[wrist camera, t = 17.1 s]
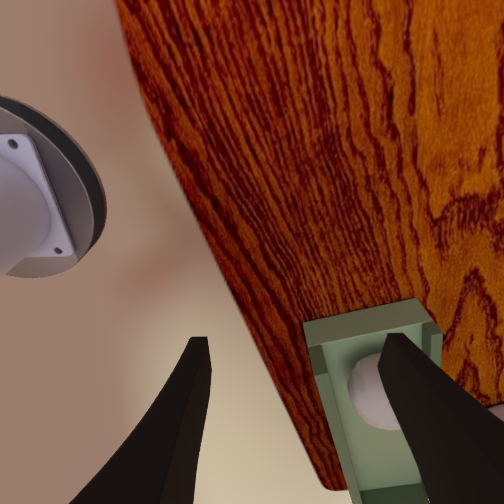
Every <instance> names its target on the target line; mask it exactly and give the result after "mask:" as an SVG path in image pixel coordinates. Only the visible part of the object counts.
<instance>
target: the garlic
mask: <svg viewBox="0 0 504 504" xmlns="http://www.w3.org/2000/svg"><path fill="white" fill-rule="evenodd" d="M380 355H381V352H380V353H376V354H371V355H369V356H366V357H364V358H362V359H361V360H360V361H358V362H357V363H356V366H355V367H354V368H353V369H352V371H351V374H350V378H349V380H348V383H347V388H348V393H349V397H350V399H351V401H352V403H353V405H354V408H355V410H356V412H357V413H358V415H359V416H360V417H361V418H362V419H363V420H364V421H365V422H366V423H367V424H369V425H371V426H374V427H377V428H379V429H385V430H397V429H401V428H400V425H399V423H398V421H397V419H396V416H395V414H394V412H393V410H392V407H391V405H390V403H389V400H388V398H387V396H386V393H385V391H384V388H383V385H382V382H381V378H380V375H379V371H378V368H377V365H378V362H379V359H380Z"/></svg>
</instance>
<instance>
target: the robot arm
mask: <svg viewBox="0 0 504 504" xmlns="http://www.w3.org/2000/svg"><path fill="white" fill-rule="evenodd" d="M12 140H14V141H16V142H17V144H18V147H16V146H15V145H14V144H13V141H12ZM58 248H60V249H61V250H62V251H60V250H59V249H58ZM75 251H76V250H75V246H74V243H73V241H72V238H71V236H70V233H69V230H68V228H67V225H66V223H65V220H64V218H63V215H62V212H61V210H60V207H59V205H58V202H57V199H56V197H55V194H54V192H53V189H52V187H51V184H50V181H49V179H48V176H47V174H46V171H45V168H44V166H43V163H42V161H41V158H40V156H39V153H38V150H37V148H36V145H35V143H34V141H33V139H32V138H31V137H30V136H28V135H26V134H22V133H20V134H0V278H1V277H2V276H3V275H5V274H6V273H7V272H8V271H9V270H11V269H12V268H13V267H14V266H16V265H17V264H18V263H19V262H20V261H22V260H23V259H24V258H25V257H65V256H71V255H73V254H74V253H75ZM377 368H378V371H379V375H380V378H381V382H382V385H383V388H384V391H385V393H386V396H387V398H388V400H389V403H390V405H391V407H392V410H393V412H394V414H395V416H396V419H397V421H398V423H399V425H400V428H401V430H402V432H403V434H404V436H405V439H406V441H407V443H408V445H409V448H410V450H411V452H412V455H413V457H414V459H415V462H416V464H417V467H418V470H419V473H420V476H421V478H422V481H423V484H424V487H425V490H426V493H427V496H428V499H429V502H430V504H504V422H503V421H502V420H501V419H500V418H498V417H497V416H496V415H494V414H493V413H492V412H491V411H489V410H488V409H487V408H486V407H484V406H483V405H482V404H481V403H480V402H478V401H477V400H476V399H475V398H474V397H472V396H471V395H470V394H469V393H468V392H466V391H465V390H464V389H463V388H462V387H461V386H460V385H458V384H457V383H456V382H455V381H454V380H453V379H452V378H451V377H449V376H448V375H447V374H446V373H445V372H444V371H443V370H442V369H441V368H440V367H439V366H438V365H436V364H435V363H434V362H433V361H432V360H431V359H430V358H429V357H428V356H427V355H426V354H425V353H424V352H423V351H422V350H421V349H420V348H419V347H418V346H417V345H415V344H414V343H413V342H412V341H411V340H410V339H409V338H408V337H407V336H406V335H405V334H404V333H387V337H386V340H385V343H384V346H383V349H382V352H381V355H380V359H379V362H378V365H377ZM211 372H212V368H211V361H210V354H209V346H208V339H207V337H191V338H190V339H189V341H188V343H187V346H186V348H185V350H184V352H183V354H182V355H181V357H180V359H179V361H178V363H177V365H176V366H175V368H174V370H173V372H172V373H171V375H170V377H169V378H168V380H167V382H166V384H165V385H164V387H163V388H162V390H161V391H160V393H159V395H158V396H157V397H156V399H155V401H154V402H153V404H152V405H151V407H150V408H149V409H148V411H147V412H146V414H145V415H144V416H143V418H142V419H141V421H140V422H139V423H138V425H137V426H136V427H135V429H134V430H133V431H132V432H131V434H130V435H129V436H128V438H127V439H126V440H125V441H124V442H123V444H122V445H121V446H120V448H119V449H118V450H117V451H116V452H115V453H114V455H113V456H112V457H111V458H110V459H109V461H108V462H107V463H106V464H105V465H104V467H102V469H101V470H100V471H99V472H98V473H97V474H96V475H95V476H94V477H93V478H92V480H91V481H90V482H89V483H88V484H87V485H86V486H85V487H84V488H83V489H82V490H81V491H80V493H79V494H78V495H77V496H76V497H75V498H74V499H73V500H72V501H71V502H70V503H69V504H193V501H194V491H195V481H196V471H197V464H198V457H199V452H200V446H201V441H202V435H203V430H204V424H205V419H206V414H207V408H208V402H209V396H210V385H211Z"/></svg>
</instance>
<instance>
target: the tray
mask: <svg viewBox="0 0 504 504" xmlns="http://www.w3.org/2000/svg"><path fill="white" fill-rule="evenodd" d="M303 327H304V332H305V336H306V341H307V346H308V350H309V355H310V360H311V364H312V369H313V374H314V378H315V381H316V384H317V387H318V391H319V394H320V397H321V401H322V404H323V407H324V411H325V414H326V417H327V420H328V424H329V427H330V430H331V434H332V437H333V440H334V444H335V447H336V450H337V453H338V457H339V460H340V463H341V467H342V470H343V473H344V477H345V480H346V483H347V486H348V490H349V493H350V496H351V500H352V503H353V504H430V503H429V500H428V496H427V493H426V490H425V487H424V484H423V481H422V478H421V476H420V473H419V470H418V467H417V464H416V462H415V459H414V457H413V455H412V452H411V450H410V448H409V445H408V443H407V441H406V439H405V436H404V434H403V432H402V430H401V429H397V430H385V429H379V428H377V427H374V426H371V425H369V424H367V423H366V422H365V421H364V420H363V419H362V418H361V417H360V416H359V415H358V413H357V412H356V410H355V408H354V405H353V403H352V401H351V399H350V397H349V393H348V388H347V383H348V380H349V378H350V374H351V371H352V369H353V368H354V367H355V366H356V363H357V362H358V361H360V360H361V359H362V358H364V357H366V356H369V355H371V354H376V353H380V352H382V349H383V346H384V343H385V340H386V337H387V333H404V334H405V335H406V336H407V337H408V338H409V339H410V340H411V341H412V342H413V343H414V344H415V345H417V346H418V347H419V348H420V349H421V350H422V351H423V352H424V353H425V354H426V355H427V356H428V357H429V358H430V359H431V360H432V361H433V362H434V363H435V364H436V365H438V366H439V367H440V368H441V356H442V339H443V333H442V332H441V330H440V329H439V328H438V326H437V325H436V324H435V322H434V321H433V320H432V318H431V317H430V316H429V314H428V313H427V312H426V310H425V309H424V308H423V306H422V305H421V304H420V302H419V301H418V299H417V298H412V299H408V300H403V301H399V302H394V303H390V304H385V305H381V306H376V307H372V308H367V309H363V310H358V311H354V312H349V313H345V314H340V315H335V316H331V317H326V318H322V319H317V320H313V321H308V322H304V323H303Z"/></svg>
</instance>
